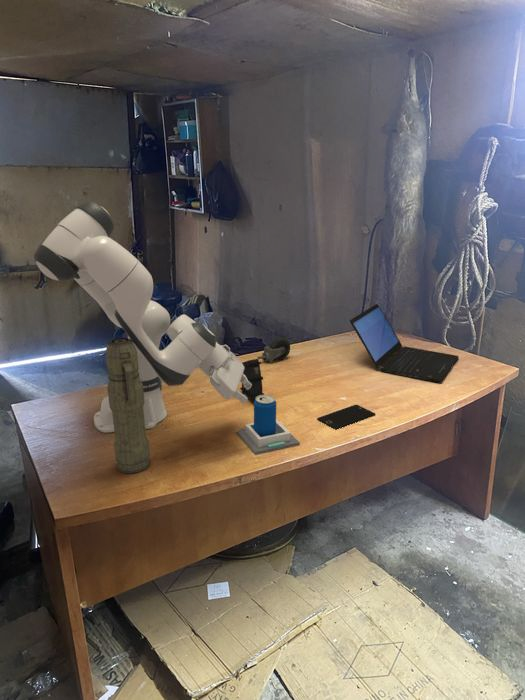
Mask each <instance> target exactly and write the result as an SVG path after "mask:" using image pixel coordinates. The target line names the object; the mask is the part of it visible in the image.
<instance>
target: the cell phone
mask: <svg viewBox="0 0 525 700" xmlns="http://www.w3.org/2000/svg"><path fill="white" fill-rule="evenodd" d="M375 416H376V413H375V412H373V411H371V410H369V409H367V408H365V407H363V406H360V405H358V404H354V405H350V406H347V407H344V408H342V409H338V410H336V411H333V412H330V413H326V414H325V415H322V416H319V417H317V418H316V420H317V422H320V423H321V422H322V424H323V423H324V425H325V424H326V425H325V426H327V427H329V428H330V427H331V429H332V428H333V429H332V430H334V429H335V430H334V431H338V430H340V429H343V428H346V427H348V426H351V425H354V424H356V423H358V421H359V422H361V420H362V421H364V420H366V419H369V417H370V418H372V417H375ZM355 422H356V423H355ZM353 423H354V424H353ZM350 424H351V425H350ZM347 425H348V426H347ZM345 426H346V427H345ZM342 427H343V428H342ZM339 428H340V429H339ZM337 429H338V430H337Z"/></svg>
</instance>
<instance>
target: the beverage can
mask: <svg viewBox="0 0 525 700" xmlns="http://www.w3.org/2000/svg"><path fill="white" fill-rule="evenodd" d="M276 419H277V401H276V399H275V396H273V395H270V394H264V395H260V396H257V397H256V400H255V401H254V404H253V423H254V431H255V432H256V433H257V434H258V435H259V436H260V437H265V436H269V435H274V434H276Z"/></svg>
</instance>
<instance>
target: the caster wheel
mask: <svg viewBox="0 0 525 700" xmlns="http://www.w3.org/2000/svg"><path fill="white" fill-rule="evenodd" d="M290 352H291V344H290V342H289V341H288V340H287V339H285V338H283V337H276V338H274V339H273V340H271V343H270V344H269V345H268V346H264V349H263V353H262V355H259V356H257V357H256V359H258V360H262V361H263V362H266V363H268V364H273V361H274V360H276V361H282V360H285V359H286V358H287V357H288V356H289V354H290Z"/></svg>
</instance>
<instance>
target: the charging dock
mask: <svg viewBox="0 0 525 700" xmlns="http://www.w3.org/2000/svg"><path fill="white" fill-rule="evenodd" d="M236 434H237V435H238V437H240V438H241V440H242V441H243V442H244V443H245V445H246V446H247V447H248V448H249V449H250V451H251V452H252V453H253V454H254V455H261V454H265V453H268V452H273V451H278V450H283V449H287V448H291V447H296V446H300V444H301V442H300V441H299V440H298V439H297V438H296V437H295V436H294V435H293V434H292V433H291V431H289V430H288V429H287V428H286V427H285V426H284V425H283V424H282V423H281V422H280V421H279V420H278V419H277V418H276V434H274V435H269V436H265V437H260V436H259V435H258V434H257V433H256V432H255V431H254V422H251V423H246V424H245V425H244V428H241V429H237V430H236Z"/></svg>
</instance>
